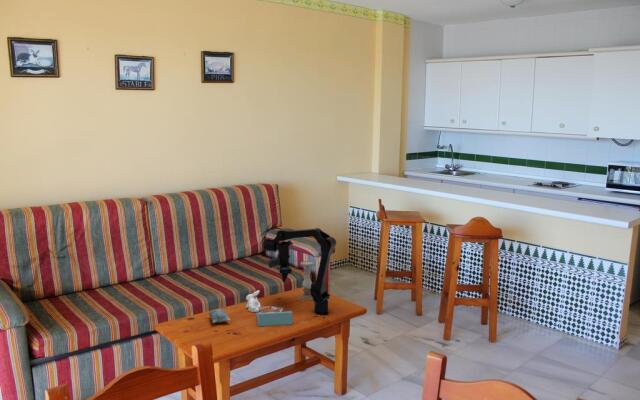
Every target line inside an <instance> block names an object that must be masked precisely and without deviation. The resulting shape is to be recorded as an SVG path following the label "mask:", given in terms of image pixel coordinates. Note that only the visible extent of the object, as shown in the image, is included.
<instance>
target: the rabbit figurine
mask: <svg viewBox="0 0 640 400" xmlns="http://www.w3.org/2000/svg"><path fill="white" fill-rule="evenodd" d="M260 292H261V290H259V289H258V290H256V291H255V292H253V293H249V294H247V295H246V298H245V300H246V301H247V303H246V305H245V307H246V309H247V310H248V311H249V312H251V313H259V312H260V310H261V303H260V302H259V301H258V297H257V296H258V295H259V293H260Z"/></svg>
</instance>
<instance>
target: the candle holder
mask: <svg viewBox="0 0 640 400" xmlns="http://www.w3.org/2000/svg"><path fill="white" fill-rule="evenodd" d="M314 265H315V262H314V261H312V260H303V261H301V262H300V266H302V267H303V268H304V271H303V273H304V279H303V281H302V284H301V286H302V287H303V289H302V291H303V293H301V294H300V295H299V299H300V300H302V301H314V300H313V297H312V296H311V294H310V292H311V291H310V289H311V284H312V283H313V282H312V280H311V273H312V272H311V268H312V266H314Z"/></svg>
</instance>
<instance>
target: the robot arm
mask: <svg viewBox="0 0 640 400" xmlns="http://www.w3.org/2000/svg"><path fill="white" fill-rule="evenodd" d="M296 238H297V239H299V238H314V239H315V241H316V243H317V244H318V245H320V253H321V257H320V261H319V266H318V271H317V275H316V280H315V281H314V282H312V284H311V289H310V291H311V292H310V294H311V296H312V297H313V300H312V301H313V312H314V313H315V315H329V299H330V297H331V295H330V293H329V292H328V291H327V285H326V279H327V273H328V270H329V264H330V259H331V255H332V254H333V253H334V251H335V249H336V246H337V240H336V239H335V238H334V237H333V236H330V234H328V233H326V232H325V231H323V230H322V229H321V228H319V227H315V228H305V229H292V228H287V227H285V228H282V229H279V230H278V231H277V232H276V235H275V237H274V238H270V237H267V238H266V239H265V242H264V245H263V249H264V251H265V252H270V253H271V252H273V253H277V252H278V253H277V255H276V257H273V258H270V259H267V261H266V263H267V264H268V265H267V266H268V267H269V268H270V269H272V268H274V267H276V266H277V270H278V273H279V274H280V275H281V281H282V283H285V282H286V281H287V278H288V276H289V274H292V273H293V272H292V271H293V269H292V266H290V265H291V264H290V257H291V255H290V247H291V246H293V245H294V243H293V241H291V239H296Z"/></svg>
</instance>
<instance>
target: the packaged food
mask: <svg viewBox="0 0 640 400" xmlns="http://www.w3.org/2000/svg"><path fill="white" fill-rule="evenodd" d="M208 315H209V317H210V320H211V322H212V323H213V324H214V323H216V324H218V323H224V322H227V321H231V318H230V317H229V316H228V314H227V310H226V309H225V310H224V309H222V308H216V309H211V310H210V311H209V313H208Z"/></svg>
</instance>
